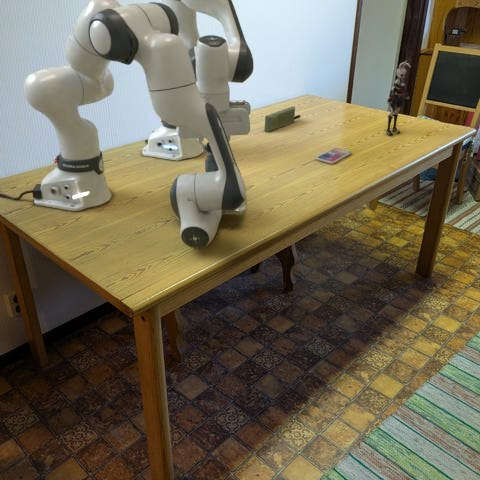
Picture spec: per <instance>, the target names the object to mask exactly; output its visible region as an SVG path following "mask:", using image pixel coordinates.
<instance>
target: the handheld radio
mask: <svg viewBox="0 0 480 480" xmlns="http://www.w3.org/2000/svg"><path fill="white" fill-rule="evenodd" d="M300 118H301V115H300V114H298V115H296V106H295V105H293V106H289V107H286V108H284V109H281V110H279V111H276V112H273V113H270V114H267V115H265V117H264V132H266V133H269V132H272V131H274V130H277V129H279V128H282V127H284V126H287V125H290V124H292V123H294V122H295V120H297V119H300Z"/></svg>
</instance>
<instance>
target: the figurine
mask: <svg viewBox="0 0 480 480" xmlns="http://www.w3.org/2000/svg"><path fill="white" fill-rule="evenodd" d="M407 66H408V68H412V66H411V65H410V63H408V60H405V61H402V62H401V63H399V65H398V68H397V69H396V72H395V74H396V77H397V78H396V79H395V81H394V82H393V85H392V87H391V89H390V91H389V94H388V95H389V96H388V98H387V100H386V103H387V105H388V106H390V112H389V114H388V115H387V118H388V119H387V127H386V130H385V132H386V133H385V134H386V135H387V136H392V137H393V135H394V133H396V134H400V129H398V128H397V121H398V117H399V116H400V115H399V112H400V110H401V108H402V111H401V114H404V110H405V109H406V106H405V105H406V104H405V101H406V100H409V99H410V95H409V93H408V90H407V88H406V87H407V85H406V83H405V81H404V79H405V78H406V74H407V71H408V70H407V69H406V67H407ZM394 90H395V92H394ZM403 92H404V93H405V97H404V94H403ZM392 120H393V127H392V129H391V124H392Z"/></svg>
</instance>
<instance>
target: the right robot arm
mask: <svg viewBox="0 0 480 480" xmlns="http://www.w3.org/2000/svg"><path fill="white" fill-rule="evenodd" d="M161 1H162V2H161V3H162V4H165V5H167V6H169V7H170V8H171V9H172V10H173V11H174V13H175V15H176V17H177V20H178V24H179V34H178V36H179V37H180V38H181V39H182V40H183V41H184V43H185V46H186V48H187V51H188V54H189V56H190V60H191V63H192V66H193V70H194V74H195V79H196V83H197V84H196V85H197V88H198V90H199V93H200V94H201V96H202V97H203V99H204V100H205V101H206V102H207V103H209V104H211V105H213V106H214V108H215V109H216V111H217V113H218V115H219V117H220V120H221V122H222V125H223V128H224V130H225V133H226V136H227V139H228V142H229V143H230V141H231V137H233V136H244V135H248V134H249V133H250V132H251V121H250V120H251V119H250V114H251V111H252V110H251V109H252V108H251V107H252V106H251V103H249V102H248V101H246V100H244V99H241V100H231V95H230V94H231V88H230V85H229V84H230V82H231V83H236V84H237V83H239V84H243V83H245V82H246V81H247V80H248V79H249V78H250V77H251V76H252V75H253V73H254V65H255V63H254V57H253V53H252V51H251V49H250V47H249V45H248V42H247V40H246V38H245V35H244V31H243V28H242V26H241V23H240V20H239V17H238V14H237V11H236V9H235V6H234V2H233V0H161ZM197 12H198V13H201V14H204V15H207V16H208V17H212V18H213V19H215V20H217V21H218V22H219V23H220V24H221V26H222V28H223V31H224V34H225V37H226V39H225V38H224V37H222V36H219V35H215V34H213V35H212V34H207V35H203V36H201V35H200V32H199V30H198V23H197ZM160 123H161V125H159V127H157V128H156V129H155V130H152V132H151V133H150V135H149V136H148V139H145V140H144V142H145V143H147V145H145V146H144V147H143V148H142V150H141V155H142V156H145V157H152V158H157V159H164V160H170V161H176V162H178V161H182V160H185V159H190V158H191V159H192V158H196V157H198V156H200V155H202V153H203V154H205V153H209V152H208V146H207V144H204V143H203V142H204V140H205V137H204V136H203V135H201V134H199V133H197V132H195V131H192V130H189V129H185V128H181V127H176V126H173V125H171V124H169V123H167V122H165V121H163V120H162V119H161V118H160Z"/></svg>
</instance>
